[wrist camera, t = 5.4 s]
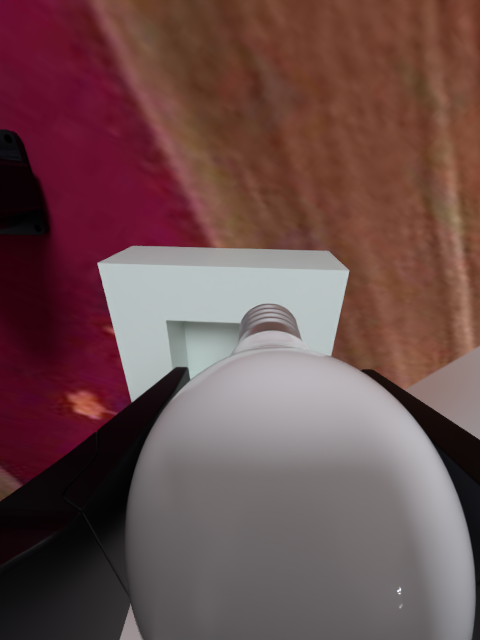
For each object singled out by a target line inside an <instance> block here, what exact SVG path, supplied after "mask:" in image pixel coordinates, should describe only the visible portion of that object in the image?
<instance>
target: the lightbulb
mask: <svg viewBox="0 0 480 640" xmlns="http://www.w3.org/2000/svg"><path fill="white" fill-rule="evenodd" d="M124 555H125V570H126V578H127V585H128V591H129V597H130V601H131V606H132V610H133V614H134V617H135V621H136V625H137V627H138V631H139V634H140V637H141V639H142V640H472V636H473V630H474V622H475V608H476V580H475V567H474V558H473V551H472V545H471V540H470V535H469V530H468V526H467V523H466V519H465V515H464V512H463V509H462V505H461V502H460V500H459V497H458V494H457V491H456V489H455V486H454V484H453V482H452V479H451V477H450V475H449V473H448V471H447V468H446V466H445V464H444V463H443V461H442V459H441V457H440V455H439V453H438V452H437V450H436V448H435V447H434V445H433V443H432V442H431V440H430V439H429V437H428V436H427V434H426V433H425V432H424V430H423V429H422V427H421V426H420V425H419V423H418V422H417V421H416V420H415V418H414V417H413V416H412V415H411V414H410V413H409V411H408V410H407V409H406V408H405V407H404V406H403V405H402V404H401V403H400V402H399V401H398V400H397V399H396V398H395V397H394V396H393V395H392V394H391V393H390V392H388V391H387V390H386V389H385V388H384V387H383V386H381V385H380V384H379V383H378V382H376V381H375V380H373V379H372V378H371V377H369V376H368V375H366V374H365V373H363V372H362V371H360V370H358V369H357V368H355V367H353V366H351V365H349V364H347V363H345V362H343V361H341V360H339V359H337V358H334V357H332V356H329V355H326V354H323V353H320V352H317V351H313V350H311V349H310V347H309V346H308V345H307V344H306V343H304V342H303V341H302V339H301V336H300V332H299V329H298V325H297V322H296V319H295V317H294V316H293V314H292V313H291V312H290V311H289V310H288V309H286V308H285V307H283V306H280V305H277V304H270V303H268V304H261V305H258V306H255V307H253V308H252V309H250V310H249V311H248V312H247V313H246V314H245V315H244V316H243V318H242V320H241V322H240V327H239V337H238V345H237V346H236V347H235V349H234V350H233V351H232V353H231V354H230V356H228V357H226V358H223V359H221V360H219V361H218V362H216V363H214V364H212V365H210V366H209V367H207V368H206V369H204V370H203V371H201V372H200V373H199V374H197V375H196V376H195V377H193V378H192V379H191V380H190V381H189V382H187V383H186V384H185V385H184V386H183V387H182V388H181V389H180V390H179V391H178V392H177V393H176V394H175V396H174V397H173V398H172V399H171V400H170V401H169V403H168V404H167V405H166V407H165V408H164V409H163V411H162V412H161V414H160V415H159V417H158V418H157V420H156V422H155V423H154V425H153V427H152V428H151V430H150V432H149V434H148V436H147V438H146V440H145V442H144V445H143V447H142V449H141V452H140V454H139V457H138V460H137V463H136V466H135V469H134V473H133V477H132V481H131V485H130V490H129V495H128V501H127V507H126V516H125V530H124Z"/></svg>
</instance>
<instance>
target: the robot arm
mask: <svg viewBox="0 0 480 640" xmlns="http://www.w3.org/2000/svg"><path fill="white" fill-rule="evenodd" d="M10 136H11V138H12V143H11V142H10V140H9V137H10ZM38 225H39V226H40V227H41V230H40V229H39V227H38ZM47 233H48V226H47V222H46V219H45V216H44V213H43V210H42V207H41V203H40V200H39V197H38V194H37V191H36V188H35V184H34V181H33V178H32V175H31V172H30V169H29V165H28V162H27V159H26V156H25V153H24V150H23V146H22V143H21V140H20V138H19V136H18V135H17V134H16V133H15V132H13V131H9V130H0V234H15V235H43V234H47ZM360 371H362V372H363V373H365V374H366V375H368V376H369V377H371V378H372V379H373V380H375V381H376V382H378V383H379V384H380V385H381V386H383V387H384V388H385V389H386V390H387V391H388V392H390V393H391V394H392V395H393V396H394V397H395V398H396V399H397V400H398V401H399V402H400V403H401V404H402V405H403V406H404V407H405V408H406V409H407V410H408V411H409V413H410V414H411V415H412V416H413V417H414V418H415V420H416V421H417V422H418V423H419V425H420V426H421V427H422V429H423V430H424V432H425V433H426V434H427V436H428V437H429V439H430V440H431V442H432V443H433V445H434V447H435V448H436V450H437V452H438V453H439V455H440V457H441V459H442V461H443V463H444V464H445V466H446V468H447V471H448V473H449V475H450V477H451V479H452V482H453V484H454V486H455V489H456V491H457V494H458V497H459V500H460V502H461V505H462V509H463V512H464V515H465V519H466V523H467V526H468V530H469V535H470V540H471V545H472V551H473V558H474V567H475V580H476V608H475V622H474V630H473V636H472V640H480V440H479V439H478V438H476V437H475V436H473V435H472V434H470V433H469V432H467V431H466V430H464V429H463V428H461V427H459V426H458V425H456V424H455V423H453V422H452V421H450V420H449V419H447V418H446V417H444V416H443V415H441V414H440V413H438V412H437V411H435V410H434V409H432V408H431V407H429V406H428V405H426V404H425V403H423V402H421V401H420V400H418V399H417V398H415V397H414V396H412V395H411V394H409V393H408V392H406V391H405V390H403V389H402V388H400V387H399V386H397V385H396V384H394V383H393V382H391V381H390V380H388V379H387V378H385V377H383V376H382V375H380V374H379V373H377V372H376V371H374V370H372V369H361V370H360ZM189 381H190V375H189V369H188V368H187V367H175V368H174V369H173V370H171V371H170V372H169V373H168V374H167V375H165V376H164V377H163V378H162V379H160V380H159V381H158V382H157V383H155V384H154V385H153V386H152V387H150V388H149V389H148V390H147V391H145V392H144V393H143V394H142V395H141V396H139V397H138V398H137V399H136V400H134V401H133V402H132V403H131V404H129V405H128V406H127V407H126V408H124V409H123V410H122V411H121V412H119V413H118V414H117V415H116V416H115V417H113V418H112V419H111V420H110V421H108V422H107V423H106V424H105V425H103V426H102V427H101V428H100V429H98V431H97V432H95V433H93V434H92V435H91V436H90V437H88V438H87V439H86V440H85V441H83V442H82V443H81V444H80V445H78V446H77V447H76V448H74V449H73V450H72V451H71V452H69V453H68V454H67V455H65V456H64V457H63V458H61V459H60V460H58V461H57V462H56V463H54V464H53V465H51V466H50V467H49V468H47V469H46V470H44V471H43V472H42V473H40V474H39V475H37V476H36V477H35V478H33V479H32V480H30V481H29V482H27V483H26V484H25V485H23V486H22V487H20V488H19V489H17V490H16V491H15V492H13V493H12V494H10V495H9V496H7V497H6V498H5V499H3V500H2V501H0V640H119V639H120V636H121V633H122V630H123V627H124V624H125V620H126V617H127V614H128V610H129V607H130V604H131V601H130V597H129V591H128V585H127V578H126V570H125V555H124V530H125V516H126V507H127V501H128V495H129V490H130V485H131V481H132V477H133V473H134V469H135V466H136V463H137V460H138V457H139V454H140V452H141V449H142V447H143V445H144V442H145V440H146V438H147V436H148V434H149V432H150V430H151V428H152V427H153V425H154V423H155V422H156V420H157V418H158V417H159V415H160V414H161V412H162V411H163V409H164V408H165V407H166V405H167V404H168V403H169V401H170V400H171V399H172V398H173V397H174V396H175V394H176V393H177V392H178V391H179V390H180V389H181V388H182V387H183V386H184V385H185V384H186V383H187V382H189Z"/></svg>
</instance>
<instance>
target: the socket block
mask: <svg viewBox="0 0 480 640" xmlns="http://www.w3.org/2000/svg"><path fill="white" fill-rule="evenodd" d="M98 267H99V271H100V275H101V279H102V283H103V287H104V291H105V295H106V299H107V303H108V307H109V311H110V315H111V320H112V324H113V328H114V332H115V336H116V340H117V344H118V348H119V352H120V356H121V360H122V364H123V368H124V372H125V377H126V381H127V385H128V389H129V393H130V397H131V401H132V402H133V401H134V400H136V399H137V398H138V397H139V396H141V395H142V394H143V393H144V392H145V391H147V390H148V389H149V388H150V387H152V386H153V385H154V384H155V383H157V382H158V381H159V380H160V379H162V378H163V377H164V376H165V375H167V374H168V373H169V372H170V371H171V370H173V369H174V368H175V367H187V368H188V369H189V375H190V380H191V379H192V378H193V377H195V376H196V375H197V374H199V373H200V372H201V371H203V370H204V369H206V368H207V367H209V366H210V365H212V364H214V363H216V362H218V361H219V360H221V359H223V358H226V357H228V356H230V354H231V353H232V351H233V350H234V349H235V347H236V346H237V345H238V337H239V327H240V322H241V320H242V318H243V316H244V315H245V314H246V313H247V312H248V311H249V310H250V309H252V308H253V307H255V306H258V305H261V304H268V303H270V304H277V305H280V306H283V307H285V308H286V309H288V310H289V311H290V312H291V313H292V314H293V316H294V317H295V319H296V322H297V325H298V329H299V332H300V336H301V339H302V341H303V342H304V343H306V344H307V345H308V346H309V347H310V349H311V350H313V351H317V352H320V353H323V354H326V355H329V356H331V353H332V349H333V344H334V339H335V335H336V330H337V325H338V321H339V316H340V311H341V307H342V302H343V297H344V293H345V288H346V284H347V279H348V274H349V270H348V269H347V268H346V267H345V266H344V265H343V264H342V263H341V262H340V261H338V260H337V259H336V258H335V257H334V256H333V255H332V254H331V253H330V252H329V251H309V250H271V249H233V248H195V247H157V246H131V247H129V248H127V249H125V250H123V251H121V252H119V253H117V254H115V255H113V256H111V257H109V258H107V259H105V260H103V261H101V262H99V263H98Z"/></svg>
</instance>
